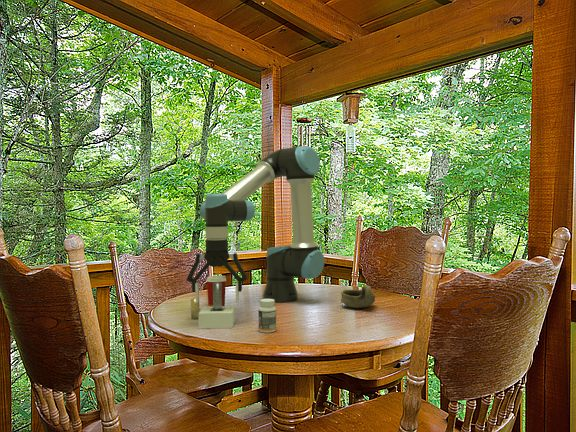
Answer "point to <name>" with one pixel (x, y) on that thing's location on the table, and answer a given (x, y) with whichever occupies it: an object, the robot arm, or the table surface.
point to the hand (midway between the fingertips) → (217, 301)
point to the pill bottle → (267, 316)
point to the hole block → (217, 317)
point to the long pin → (217, 296)
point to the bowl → (358, 297)
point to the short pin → (194, 309)
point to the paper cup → (210, 282)
